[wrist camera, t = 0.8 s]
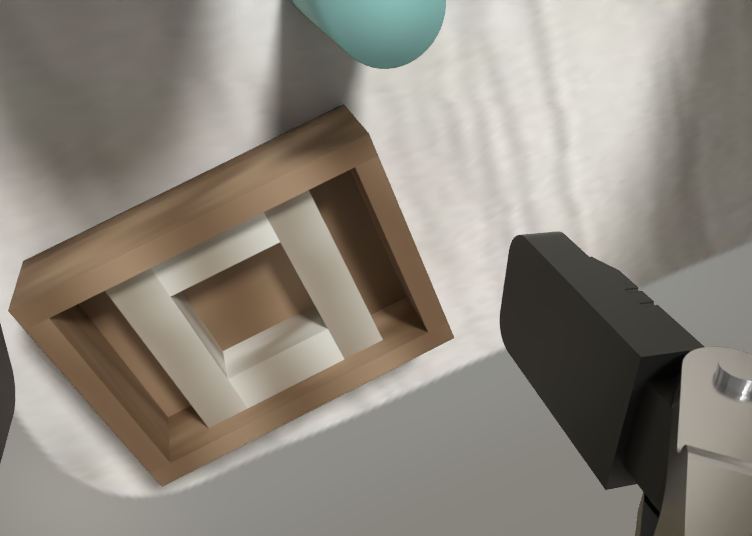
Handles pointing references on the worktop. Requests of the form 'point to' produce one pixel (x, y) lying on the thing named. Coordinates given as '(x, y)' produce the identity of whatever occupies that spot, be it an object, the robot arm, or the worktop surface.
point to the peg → (378, 27)
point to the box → (236, 297)
